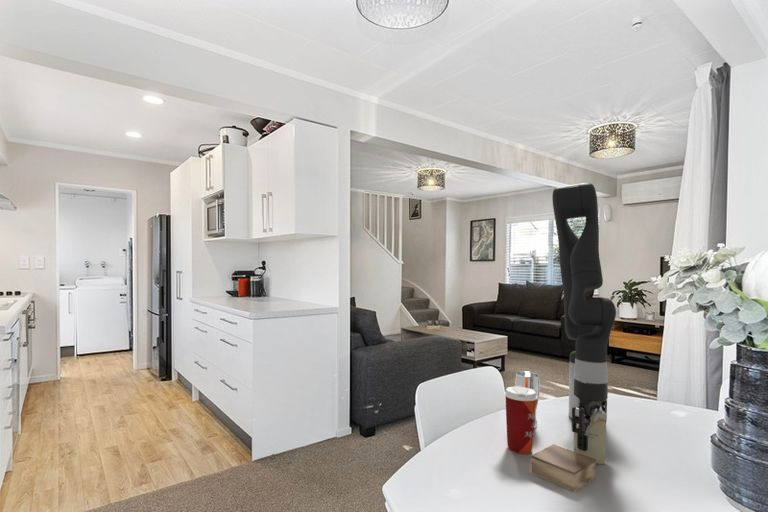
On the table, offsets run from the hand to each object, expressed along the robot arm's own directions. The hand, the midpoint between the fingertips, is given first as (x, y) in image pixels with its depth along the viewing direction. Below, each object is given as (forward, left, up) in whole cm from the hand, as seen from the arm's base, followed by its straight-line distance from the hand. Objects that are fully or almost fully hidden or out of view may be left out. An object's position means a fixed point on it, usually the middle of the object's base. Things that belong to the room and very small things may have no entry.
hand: (589, 445), depth 104 cm
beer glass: (-8, -22, -4) cm, 24 cm away
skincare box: (0, 0, -4) cm, 4 cm away
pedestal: (+13, 0, -3) cm, 13 cm away
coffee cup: (+8, -14, -4) cm, 17 cm away
